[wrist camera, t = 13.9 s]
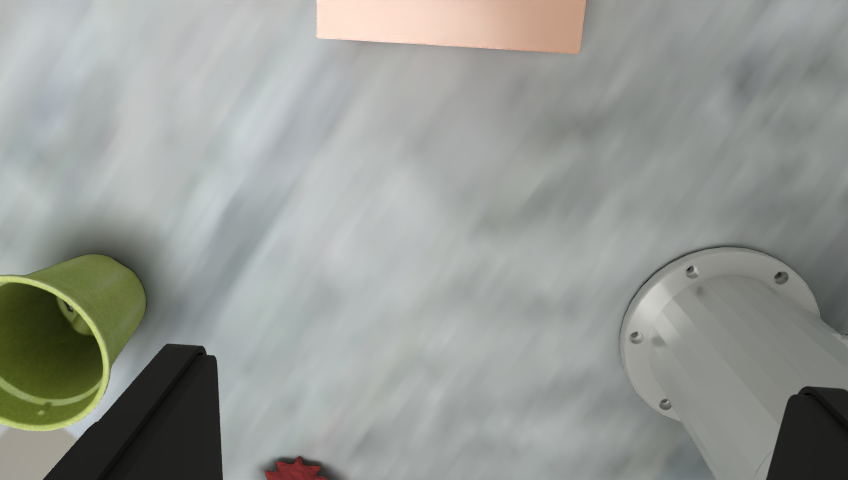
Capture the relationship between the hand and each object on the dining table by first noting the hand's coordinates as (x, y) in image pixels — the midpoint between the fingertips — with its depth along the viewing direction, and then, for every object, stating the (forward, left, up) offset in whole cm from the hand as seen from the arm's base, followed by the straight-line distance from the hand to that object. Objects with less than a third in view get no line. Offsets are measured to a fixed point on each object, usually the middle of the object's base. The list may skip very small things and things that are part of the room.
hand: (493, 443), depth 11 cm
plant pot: (+23, +12, -31) cm, 40 cm away
